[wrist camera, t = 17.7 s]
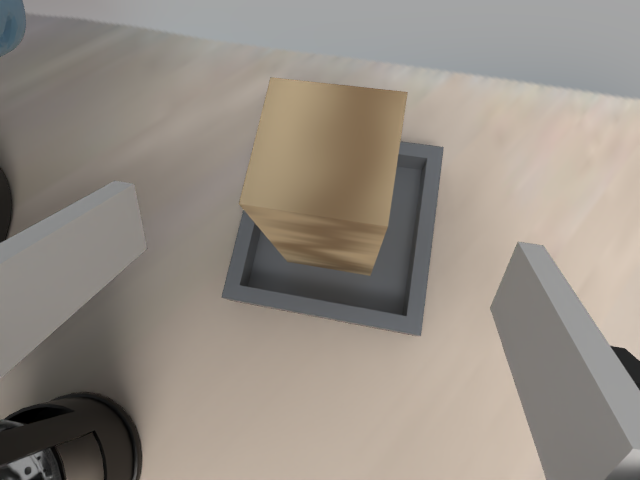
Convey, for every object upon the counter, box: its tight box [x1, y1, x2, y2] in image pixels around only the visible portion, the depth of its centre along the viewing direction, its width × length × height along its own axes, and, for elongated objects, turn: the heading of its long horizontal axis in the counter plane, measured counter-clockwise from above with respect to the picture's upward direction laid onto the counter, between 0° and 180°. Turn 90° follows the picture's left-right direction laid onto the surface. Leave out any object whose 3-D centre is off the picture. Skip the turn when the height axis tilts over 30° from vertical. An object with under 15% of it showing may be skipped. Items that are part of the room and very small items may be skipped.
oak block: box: [239, 78, 407, 276], centre depth 21 cm, size 6×6×12 cm
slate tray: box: [222, 142, 443, 336], centre depth 26 cm, size 13×13×2 cm
